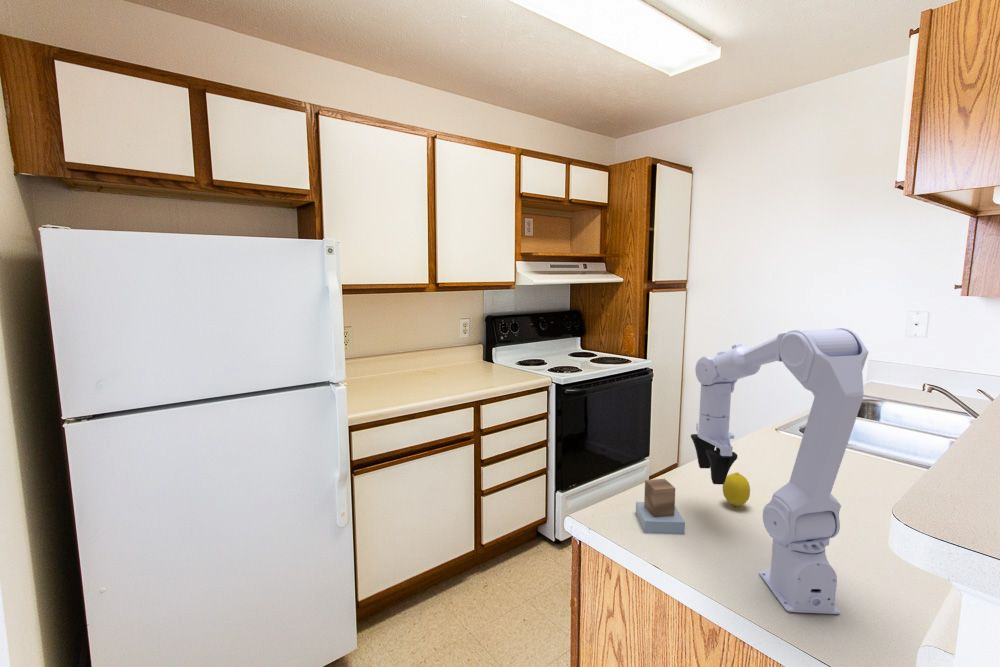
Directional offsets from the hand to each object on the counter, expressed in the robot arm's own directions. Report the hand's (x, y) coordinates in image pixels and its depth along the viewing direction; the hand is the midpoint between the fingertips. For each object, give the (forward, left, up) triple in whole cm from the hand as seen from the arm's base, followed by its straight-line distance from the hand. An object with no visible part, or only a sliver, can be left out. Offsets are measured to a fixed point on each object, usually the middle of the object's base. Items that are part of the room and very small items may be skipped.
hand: (711, 475), depth 98 cm
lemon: (+6, -8, -10) cm, 14 cm away
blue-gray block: (-2, +11, -10) cm, 15 cm away
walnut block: (-2, +11, -7) cm, 13 cm away
